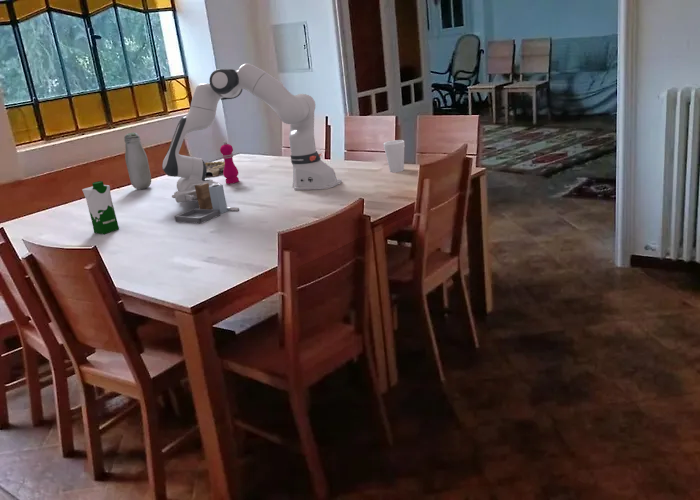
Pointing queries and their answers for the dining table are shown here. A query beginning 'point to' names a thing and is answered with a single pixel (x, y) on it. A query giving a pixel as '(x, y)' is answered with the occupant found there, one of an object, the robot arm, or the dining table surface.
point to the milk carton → (101, 208)
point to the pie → (215, 167)
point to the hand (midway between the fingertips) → (203, 195)
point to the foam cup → (395, 155)
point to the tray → (197, 215)
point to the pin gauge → (232, 209)
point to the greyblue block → (218, 198)
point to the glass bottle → (137, 162)
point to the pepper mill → (229, 164)
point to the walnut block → (203, 196)
